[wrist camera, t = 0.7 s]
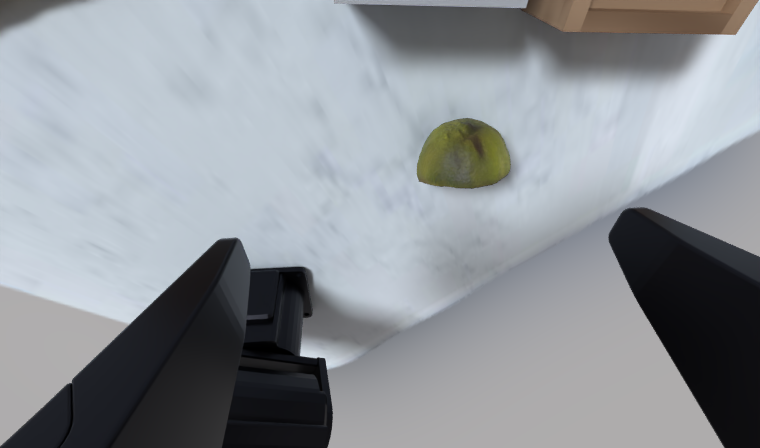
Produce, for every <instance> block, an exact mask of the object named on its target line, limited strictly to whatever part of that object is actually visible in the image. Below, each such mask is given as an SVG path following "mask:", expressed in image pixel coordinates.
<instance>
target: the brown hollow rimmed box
mask: <svg viewBox="0 0 760 448" xmlns="http://www.w3.org/2000/svg"><path fill="white" fill-rule="evenodd" d="M757 2H758V0H528V3H527V6H526V8H522V9H521V10H522V11H524V12H526V13H528V14H530V15H532V16H534V17H536V18H538V19H539V20H541V21H543V22H545V23H547V24H549V25H551V26H553V27H555V28H557V29H558V30H560V31H562V32H607V33H666V34H725V35H736V33H737V32H738V30H739V29H740V27H741V26H742V24H743V23H744V21H745V20H746V18H747V17H748V15H749V14H750V12H751V11H752V9H753V8H754V6H755V5H756V3H757Z"/></svg>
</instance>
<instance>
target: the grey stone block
mask: <svg viewBox="0 0 760 448" xmlns="http://www.w3.org/2000/svg"><path fill="white" fill-rule="evenodd" d="M527 3H528V0H334V4H374V5H416V6H458V7H500V8H526V6H527Z"/></svg>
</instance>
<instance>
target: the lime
mask: <svg viewBox="0 0 760 448" xmlns="http://www.w3.org/2000/svg"><path fill="white" fill-rule="evenodd" d="M510 165H511V164H510V155H509V152H508V150H507V148H506V144H505V142H504V140H503V138H502V136H501V134H500V133H499V132H498V131H497V130H496V129H494V128H492V127H491V126H489V125H488V124H486V123H484V122H482V121H478V120H474V119H470V118H465V119H464V118H463V119H457V120H453V121H450V122H447V123H444V124H442V125H440V126H439V127H437V128H436V129H435V130H433V131H432V132H431V134H430V135H429V137H428V138H427V140H426V142H425V144H424V146H423V148H422V151H421V153H420V156H419V160H418V164H417V177H418V179H419V182H423V183H426V184H430V185H434V186H440V187H443V186H447V187H455V188H471V189H472V188H479V187H482V186H488V185H493V184H495V183H497V182H498V181H499V180H501V179H502V178H504V177H505V176H506V175H508V173H509V171H510Z"/></svg>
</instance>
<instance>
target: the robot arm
mask: <svg viewBox="0 0 760 448" xmlns="http://www.w3.org/2000/svg"><path fill="white" fill-rule="evenodd" d="M609 243H610V245H611V247H612V250H613V252H614V254H615V256H616V258H617V260H618V262H619V265H620V267H621V269H622V271H623V273H624V275H625V278H626V280H627V282H628V284H629V286H630V288H631V290H632V292H633V294H634V296H635V298H636V300H637V302H638V303H639V305H640V307H641V308H642V310H643V312H644V314H645V315H646V317H647V319H648V320H649V322H650V324H651V325H652V327H653V329H654V330H655V332H656V334H657V335H658V337H659V339H660V340H661V342H662V344H663V345H664V347H665V349H666V351H667V352H668V354H669V356H670V357H671V359H672V361H673V362H674V364H675V366H676V367H677V369H678V370H679V372H680V374H681V376H682V377H683V379H684V381H685V382H686V384H687V386H688V387H689V389H690V391H691V392H692V394H693V396H694V398H695V399H696V401H697V402H698V404H699V406H700V407H701V409H702V411H703V413H704V414H705V416H706V417H707V419H708V421H709V423H710V424H711V426H712V428H713V429H714V431H715V433H716V434H717V436H718V438H719V439H720V441H721V443H722V445H723V446H724V448H760V257H759V256H756V255H754V254H752V253H749V252H747V251H745V250H743V249H740V248H738V247H736V246H733V245H731V244H729V243H726V242H724V241H722V240H720V239H717V238H715V237H713V236H710V235H708V234H706V233H704V232H701V231H699V230H697V229H694V228H692V227H690V226H687V225H685V224H683V223H680V222H678V221H676V220H674V219H671V218H669V217H667V216H664V215H662V214H660V213H657V212H655V211H653V210H651V209H648V208H644V207H637V208H628V209H625V210H624V211H623V212H622V213H621V215H620V216H619V218H618V219H617V221H616V223H615V224H614V226H613V228H612V230H611V231H610V233H609ZM312 311H313V310H312V304H311V298H310V293H309V287H308V281H307V275H306V270H305V269H304V268H301V267H293V268H273V269H253V270H250V263H249V260H248V258H247V255H246V252H245V250H244V247H243V245H242V242H241V241H240V239H238V238H225V239H219V240H218V241H216V242H215V243H214V244H213V245H212V246H211V247H210V248H209V249H208V250H207V251H206V252H205V253H204V254H203V255H202V256H201V257H200V258H199V259H198V260H196V261H195V262H194V263H193V264H192V265H191V266H190V267H189V268H188V269H187V270H186V271H185V272H184V273H183V274H182V275H181V276H180V277H179V278H178V279H177V280H176V281H175V282H173V283H172V284H171V285H170V286H169V287H168V288H167V289H166V290H165V291H164V292H163V293H162V294H161V295H160V296H159V297H158V298H157V299H156V300H155V301H154V302H153V303H152V304H150V305H149V306H148V307H147V308H146V309H145V310H144V311H143V312H142V313H141V314H140V315H139V316H138V317H137V318H136V319H135V320H134V321H133V322H132V323H131V324H130V325H129V326H128V327H126V328H125V329H124V330H123V331H122V332H121V333H120V334H119V335H118V336H117V337H116V338H115V339H114V340H113V341H112V342H111V343H110V344H109V345H108V346H107V347H106V348H105V349H104V350H103V351H102V352H100V353H99V354H98V355H97V356H96V357H95V358H94V359H93V360H92V361H91V362H90V363H89V364H88V365H87V366H86V367H85V368H84V369H83V370H82V371H81V372H79V373H78V374H77V375H76V376H75V377H74V378H73V380H72V383H69V384H67V385H66V386H65V387H64V388H63V389H61V390H60V391H59V393H57V394H56V395H55V396H54V397H53V398H52V399H51V400H50V401H49V402H48V403H47V404H46V405H45V406H44V407H43V408H41V409H40V410H39V411H38V412H37V413H36V414H35V415H34V416H33V417H32V418H31V419H30V420H29V421H27V423H26V424H24V425H23V426H22V427H21V428H20V429H19V430H18V431H17V432H16V433H15V434H13V435H12V436H11V437H10V438H9V439H8V440H7V441H6V442H5V443H3V444H2V445H1V446H0V448H327V447H328V444H329V440H330V435H331V430H332V420H333V416H332V414H333V411H332V402H331V395H330V389H329V382H328V375H327V368H326V361H325V358H319V357H318V358H310V357H302V356H300V349H301V337H302V324H303V318H307V317H311V316H312Z"/></svg>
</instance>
